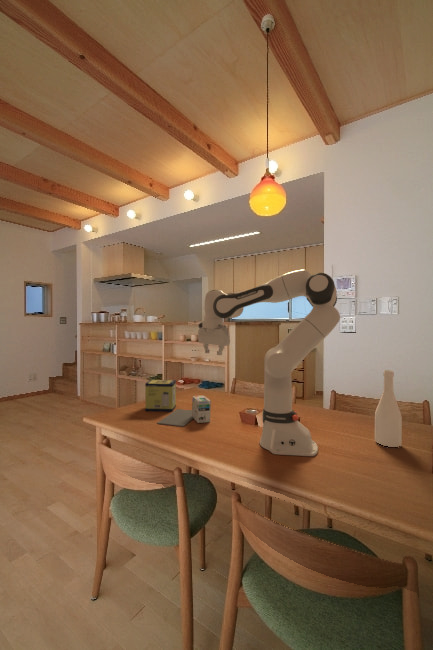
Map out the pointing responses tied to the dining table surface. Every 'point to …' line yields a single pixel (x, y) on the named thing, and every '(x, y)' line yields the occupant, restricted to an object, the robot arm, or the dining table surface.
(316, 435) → the dining table surface
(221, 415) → the dining table surface
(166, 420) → the rubber mat
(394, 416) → the wine bottle
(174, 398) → the protein box
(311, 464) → the dining table surface
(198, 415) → the light bulb box
